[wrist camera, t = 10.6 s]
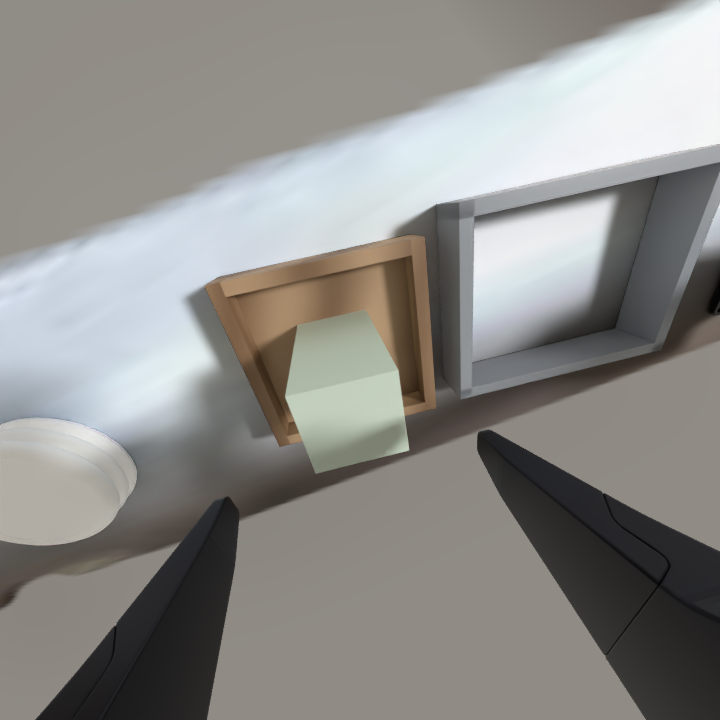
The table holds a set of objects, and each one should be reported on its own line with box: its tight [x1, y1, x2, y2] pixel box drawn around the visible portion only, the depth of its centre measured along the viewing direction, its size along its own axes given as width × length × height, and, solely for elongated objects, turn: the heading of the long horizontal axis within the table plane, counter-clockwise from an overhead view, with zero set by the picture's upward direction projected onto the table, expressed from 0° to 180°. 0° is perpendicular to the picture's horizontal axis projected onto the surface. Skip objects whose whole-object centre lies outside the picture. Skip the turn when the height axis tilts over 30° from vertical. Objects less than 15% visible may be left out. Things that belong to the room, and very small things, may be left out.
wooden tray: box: [205, 234, 436, 447], centre depth 18 cm, size 12×12×2 cm
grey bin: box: [436, 144, 720, 399], centre depth 18 cm, size 16×13×3 cm
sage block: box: [285, 309, 409, 474], centre depth 15 cm, size 4×4×8 cm
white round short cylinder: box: [0, 418, 137, 545], centre depth 20 cm, size 10×10×4 cm
